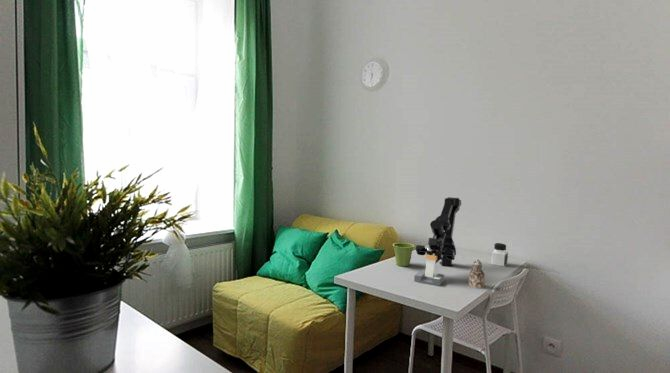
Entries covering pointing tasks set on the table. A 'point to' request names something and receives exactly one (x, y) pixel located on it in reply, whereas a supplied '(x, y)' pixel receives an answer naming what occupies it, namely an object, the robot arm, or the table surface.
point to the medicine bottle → (499, 255)
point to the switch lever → (430, 265)
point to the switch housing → (429, 278)
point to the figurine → (477, 276)
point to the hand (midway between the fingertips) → (431, 266)
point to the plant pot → (403, 253)
